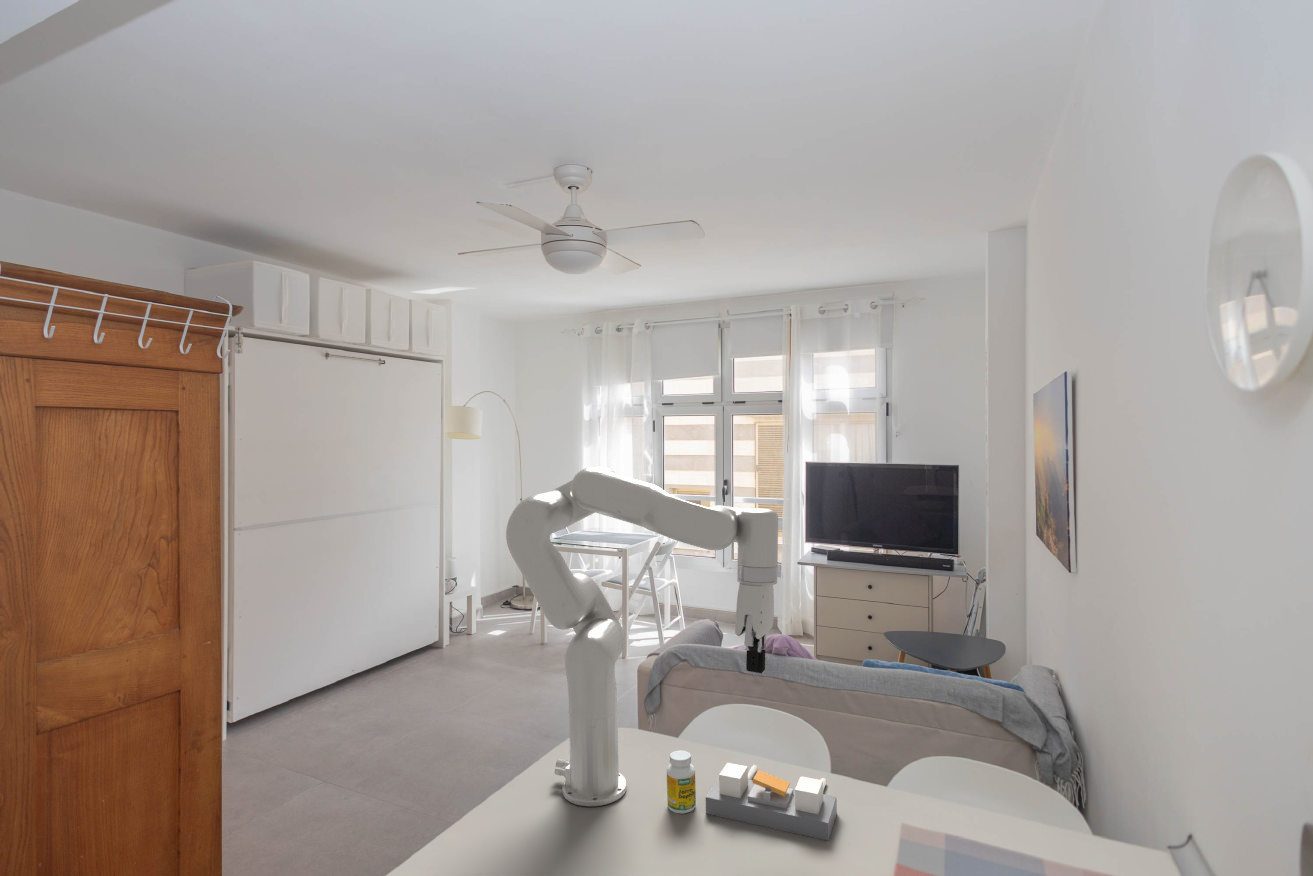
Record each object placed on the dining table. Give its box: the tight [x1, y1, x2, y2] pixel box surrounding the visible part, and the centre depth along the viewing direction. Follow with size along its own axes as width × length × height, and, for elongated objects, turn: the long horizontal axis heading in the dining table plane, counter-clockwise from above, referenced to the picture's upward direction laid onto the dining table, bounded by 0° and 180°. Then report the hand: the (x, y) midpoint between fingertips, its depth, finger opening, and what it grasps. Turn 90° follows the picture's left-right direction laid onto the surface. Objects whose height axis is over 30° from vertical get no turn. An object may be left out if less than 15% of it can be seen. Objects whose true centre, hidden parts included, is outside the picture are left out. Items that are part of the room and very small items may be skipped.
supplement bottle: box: [666, 750, 697, 814], centre depth 122 cm, size 5×5×10 cm
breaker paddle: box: [752, 769, 791, 796], centre depth 119 cm, size 6×4×1 cm, turn 66°
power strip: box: [705, 762, 838, 842], centre depth 124 cm, size 22×19×6 cm
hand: (755, 670), depth 124 cm, fingers closed
